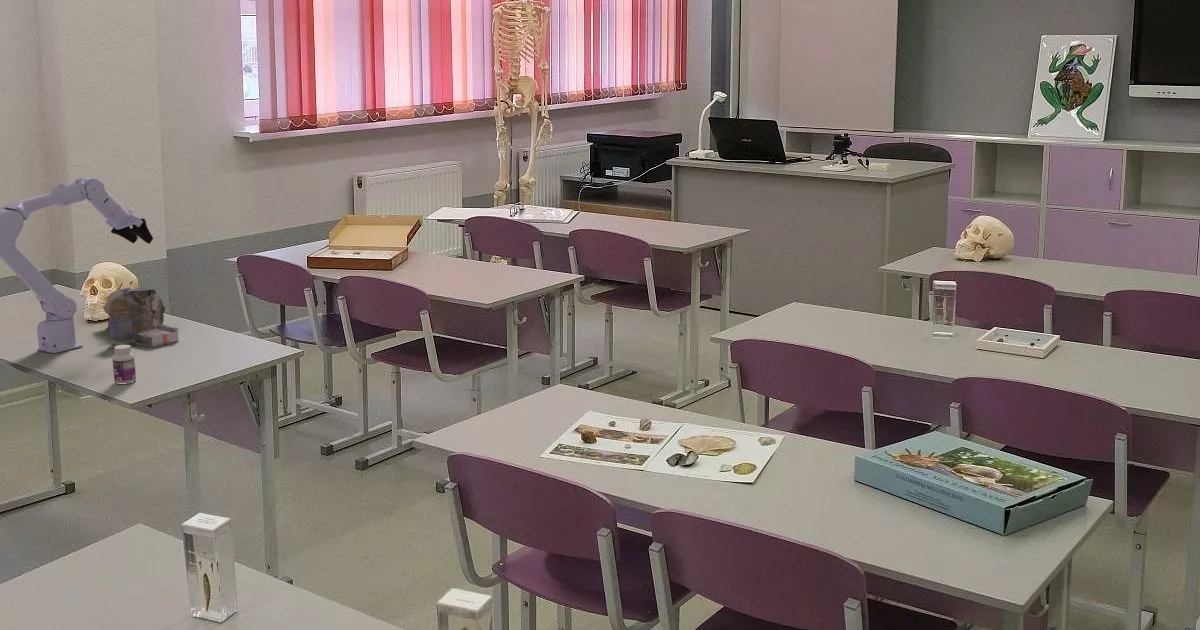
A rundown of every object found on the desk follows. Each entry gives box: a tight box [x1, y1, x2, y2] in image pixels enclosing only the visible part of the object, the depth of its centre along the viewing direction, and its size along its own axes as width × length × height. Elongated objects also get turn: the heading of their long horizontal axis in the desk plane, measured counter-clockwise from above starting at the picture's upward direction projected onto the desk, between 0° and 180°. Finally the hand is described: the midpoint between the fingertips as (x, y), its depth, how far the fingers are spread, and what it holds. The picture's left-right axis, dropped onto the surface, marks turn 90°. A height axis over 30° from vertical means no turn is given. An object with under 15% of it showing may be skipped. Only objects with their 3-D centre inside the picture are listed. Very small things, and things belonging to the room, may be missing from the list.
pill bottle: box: [111, 345, 137, 384], centre depth 313 cm, size 5×5×10 cm
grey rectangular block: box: [107, 316, 135, 348], centre depth 348 cm, size 5×5×8 cm
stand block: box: [133, 324, 180, 348], centre depth 353 cm, size 9×8×4 cm
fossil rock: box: [103, 287, 166, 334], centre depth 367 cm, size 20×10×15 cm, turn 54°
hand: (143, 240), depth 360 cm, fingers open, 7 cm apart
